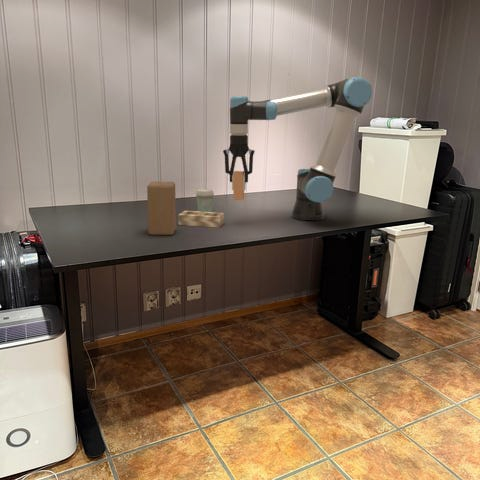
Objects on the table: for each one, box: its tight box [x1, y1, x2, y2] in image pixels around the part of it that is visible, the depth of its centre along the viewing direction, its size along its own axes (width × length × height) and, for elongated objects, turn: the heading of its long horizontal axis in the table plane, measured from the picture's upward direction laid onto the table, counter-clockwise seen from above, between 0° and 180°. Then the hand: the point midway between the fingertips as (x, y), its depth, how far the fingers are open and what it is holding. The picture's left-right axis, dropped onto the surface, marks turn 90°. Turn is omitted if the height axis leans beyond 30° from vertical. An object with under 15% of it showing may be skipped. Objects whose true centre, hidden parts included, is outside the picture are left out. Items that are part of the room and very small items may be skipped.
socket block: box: [178, 210, 225, 229], centre depth 204 cm, size 18×9×4 cm, turn 80°
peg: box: [232, 170, 245, 201], centre depth 202 cm, size 4×4×12 cm
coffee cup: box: [195, 188, 215, 212], centre depth 220 cm, size 8×8×12 cm
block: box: [146, 180, 177, 236], centre depth 187 cm, size 10×10×20 cm
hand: (238, 189), depth 203 cm, fingers closed on peg, 4 cm apart
